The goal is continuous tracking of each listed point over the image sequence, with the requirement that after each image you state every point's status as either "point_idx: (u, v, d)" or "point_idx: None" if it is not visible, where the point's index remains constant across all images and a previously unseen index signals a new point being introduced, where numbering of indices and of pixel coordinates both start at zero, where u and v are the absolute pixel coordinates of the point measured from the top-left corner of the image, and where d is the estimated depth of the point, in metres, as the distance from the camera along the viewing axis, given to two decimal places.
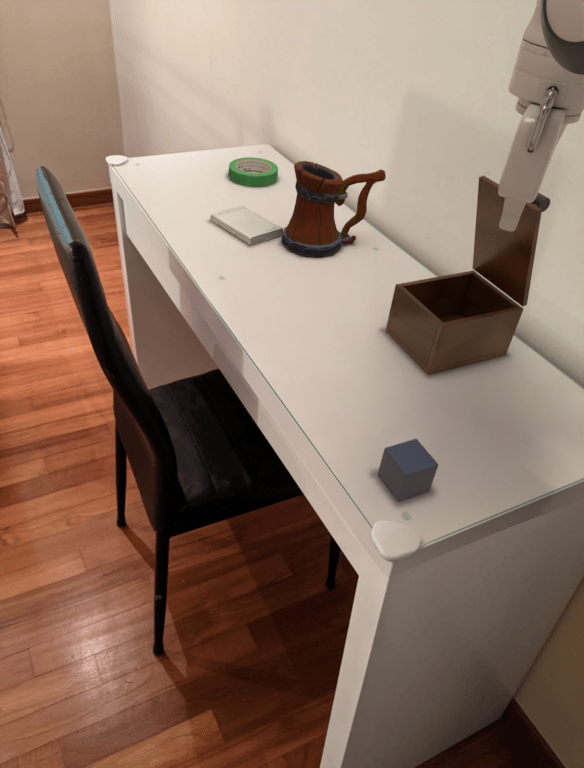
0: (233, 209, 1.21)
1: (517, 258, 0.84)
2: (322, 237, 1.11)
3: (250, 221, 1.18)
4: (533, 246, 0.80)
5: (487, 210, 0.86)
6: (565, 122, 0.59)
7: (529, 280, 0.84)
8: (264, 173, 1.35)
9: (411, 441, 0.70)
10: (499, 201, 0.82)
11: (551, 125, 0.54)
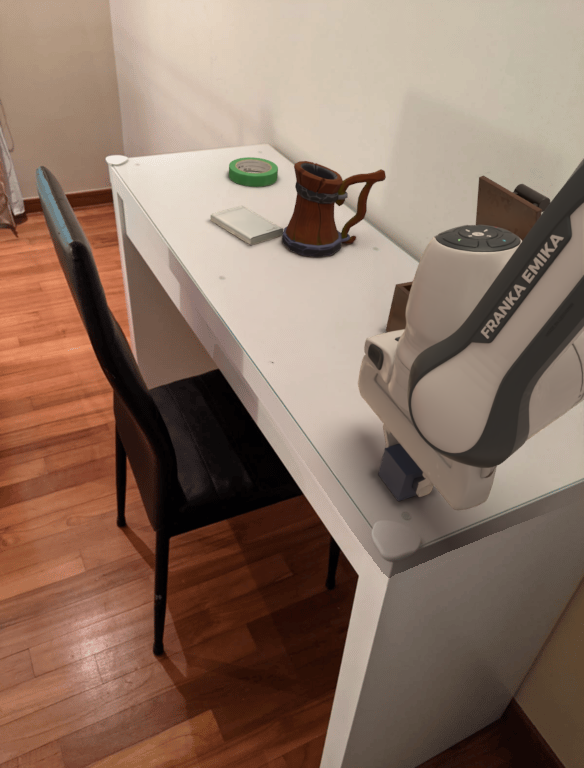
0: (233, 209, 1.21)
1: None
2: (322, 237, 1.11)
3: (250, 221, 1.18)
4: None
5: (487, 210, 0.86)
6: None
7: None
8: (264, 173, 1.35)
9: None
10: (499, 201, 0.82)
11: None
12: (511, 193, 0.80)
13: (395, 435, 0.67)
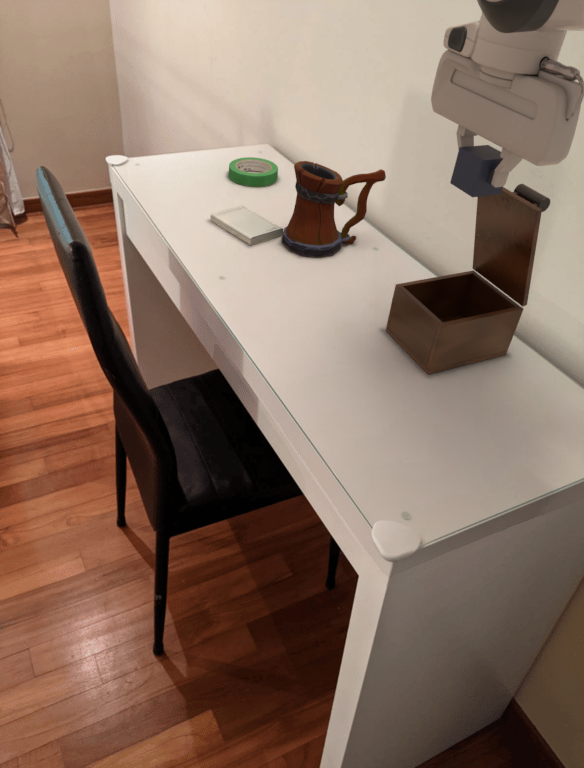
0: (233, 209, 1.21)
1: (517, 258, 0.84)
2: (322, 237, 1.11)
3: (250, 221, 1.18)
4: (533, 246, 0.80)
5: (487, 210, 0.86)
6: None
7: (529, 280, 0.84)
8: (264, 173, 1.35)
9: (483, 145, 0.73)
10: (499, 201, 0.82)
11: None
12: (511, 193, 0.80)
13: (472, 126, 0.70)
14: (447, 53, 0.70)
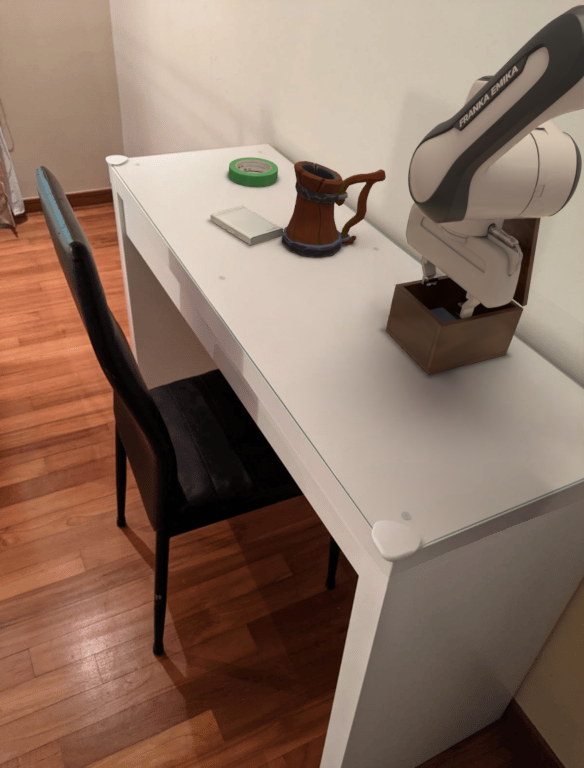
0: (233, 209, 1.21)
1: None
2: (322, 237, 1.11)
3: (250, 221, 1.18)
4: (533, 246, 0.80)
5: None
6: None
7: (529, 280, 0.84)
8: (264, 173, 1.35)
9: (438, 308, 0.92)
10: None
11: None
12: None
13: (438, 265, 0.85)
14: (417, 204, 0.85)
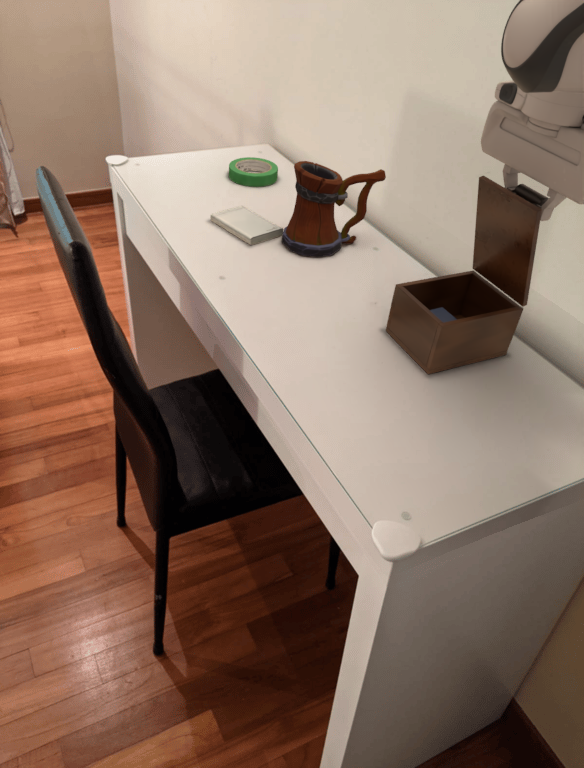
0: (233, 209, 1.21)
1: (517, 258, 0.84)
2: (322, 237, 1.11)
3: (250, 221, 1.18)
4: (533, 246, 0.80)
5: (487, 210, 0.86)
6: None
7: (529, 280, 0.84)
8: (264, 173, 1.35)
9: (438, 308, 0.92)
10: (499, 201, 0.82)
11: None
12: (511, 193, 0.80)
13: (520, 167, 0.81)
14: (498, 103, 0.81)
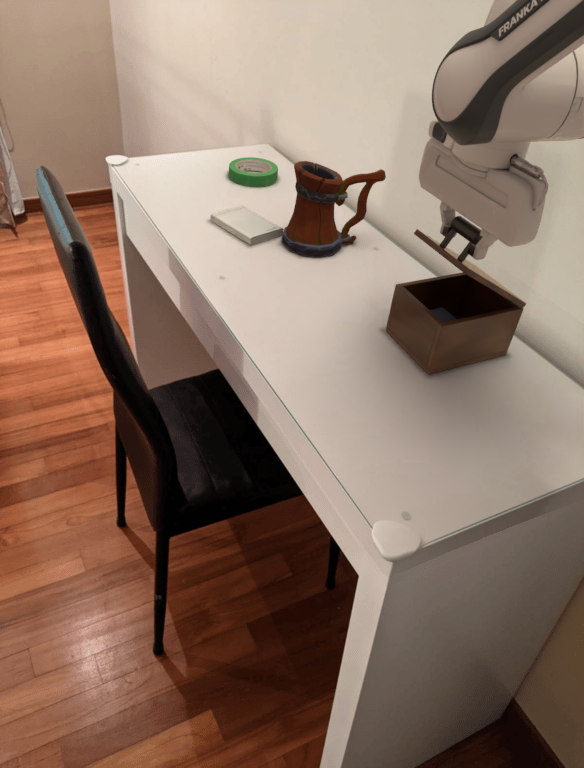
0: (233, 209, 1.21)
1: None
2: (322, 237, 1.11)
3: (250, 221, 1.18)
4: (487, 284, 0.81)
5: None
6: None
7: (509, 296, 0.85)
8: (264, 173, 1.35)
9: (438, 308, 0.92)
10: None
11: None
12: (441, 251, 0.81)
13: (454, 205, 0.80)
14: (432, 141, 0.80)
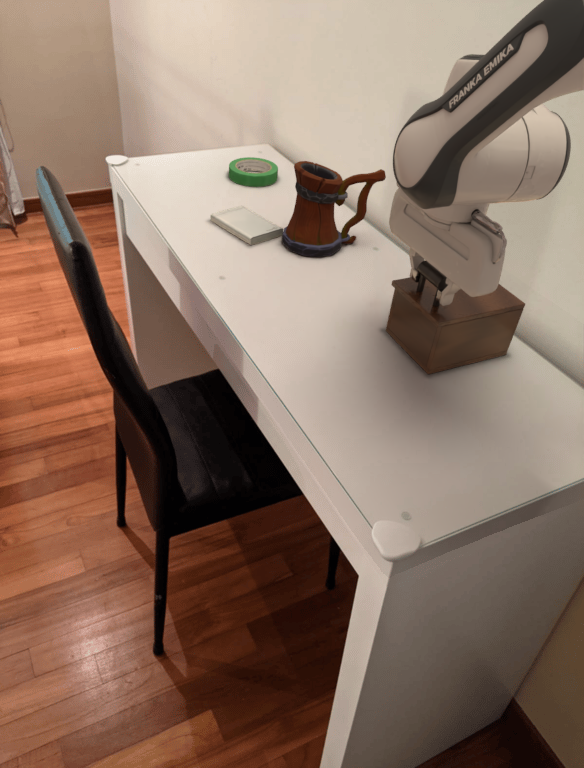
0: (233, 209, 1.21)
1: None
2: (322, 237, 1.11)
3: (250, 221, 1.18)
4: (468, 318, 0.84)
5: None
6: None
7: (501, 310, 0.86)
8: (264, 173, 1.35)
9: None
10: None
11: None
12: (415, 304, 0.85)
13: (421, 253, 0.82)
14: (400, 191, 0.83)
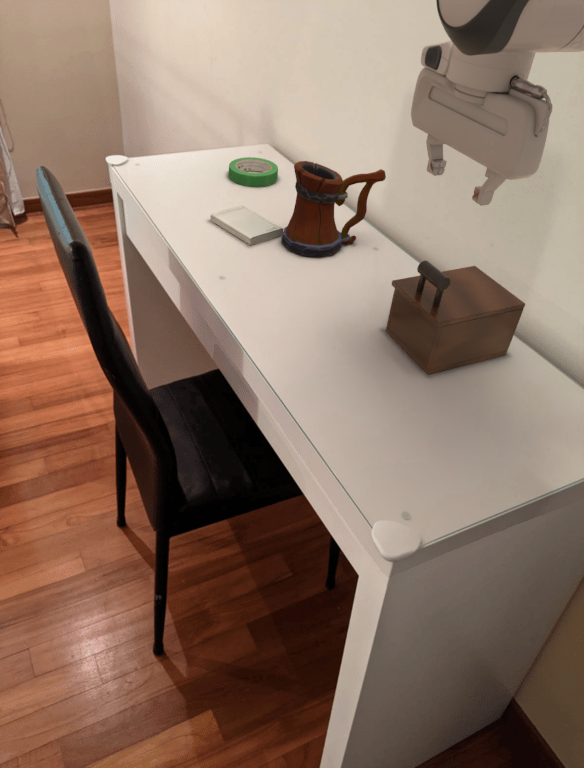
0: (233, 209, 1.21)
1: None
2: (322, 237, 1.11)
3: (250, 221, 1.18)
4: (468, 318, 0.84)
5: None
6: None
7: (501, 310, 0.86)
8: (264, 173, 1.35)
9: None
10: None
11: None
12: (415, 304, 0.85)
13: (449, 141, 0.73)
14: (424, 70, 0.73)
